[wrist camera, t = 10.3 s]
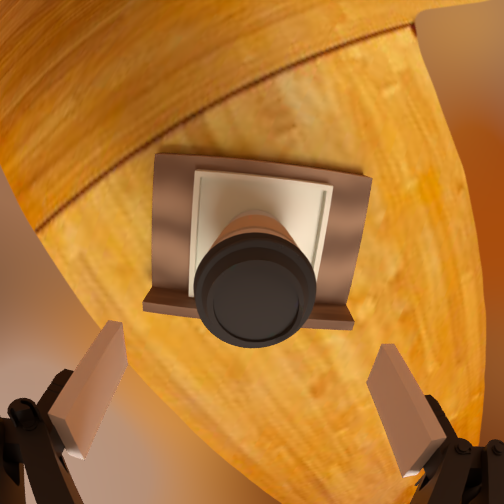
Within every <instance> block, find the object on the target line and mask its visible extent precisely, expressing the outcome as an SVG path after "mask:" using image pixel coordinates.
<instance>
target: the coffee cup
mask: <svg viewBox="0 0 504 504" xmlns="http://www.w3.org/2000/svg"><path fill="white" fill-rule="evenodd" d="M316 290H317V285H316V277H315V273H314V270H313V268H312V265H311V263H310V262H309V260H308V258H307V257H306V256H305V255H304V253H303V252H302V251H301V250H300V248H299V247H298V246H297V244H296V243H295V241H294V240H293V238H292V237H291V235H290V234H289V232H288V231H287V230H286V228H285V227H284V226H283V225H282V224H281V223H280V222H279V220H278V219H277V218H276V217H275V216H273V215H272V214H270V213H268V212H265V211H262V210H248V211H245V212H242V213H240V214H238V215H237V216H235V217H234V218H233V219H232V220H231V221H230V222H229V224H228V225H227V226H226V227H225V228H224V230H223V231H222V232H221V234H220V235H219V236H218V238H217V239H216V241H215V242H214V243H213V245H212V246H211V248H210V249H209V250H208V252H207V254H206V255H205V256H204V257H203V259H202V260H201V262H200V264H199V266H198V268H197V270H196V273H195V277H194V284H193V291H194V298H195V303H196V308H197V312H198V314H199V317H200V319H201V320H202V322H203V324H204V325H205V326H206V328H207V329H208V330H209V331H210V332H211V333H212V334H213V335H215V336H216V337H217V338H219V339H220V340H222V341H224V342H226V343H228V344H231V345H234V346H238V347H243V348H262V347H267V346H271V345H274V344H277V343H280V342H282V341H284V340H286V339H287V338H289V337H290V336H292V335H293V334H295V333H296V332H297V331H298V330H299V329H300V328H301V327H302V326H303V325H304V323H305V322H306V321H307V319H308V318H309V316H310V314H311V312H312V309H313V307H314V303H315V298H316Z"/></svg>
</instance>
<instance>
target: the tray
mask: <svg viewBox="0 0 504 504" xmlns="http://www.w3.org/2000/svg"><path fill="white" fill-rule="evenodd" d="M332 192H333V186H332V185H331V184H327V183H320V182H313V181H306V180H299V179H291V178H283V177H274V176H266V175H257V174H247V173H237V172H226V171H214V170H202V169H197V170H195V176H194V189H193V204H192V221H191V241H190V265H189V297H194V291H193V284H194V277H195V273H196V270H197V268H198V266H199V264H200V262H201V260H202V259H203V257H204V256H205V255H206V254H207V252H208V250H209V249H210V248H211V246H212V245H213V243H214V242H215V241H216V239H217V238H218V236H219V235H220V234H221V232H222V231H223V230H224V228H225V227H226V226H227V225H228V224H229V222H230V221H231V220H232V219H233V218H234V217H235V216H237V215H238V214H240V213H242V212H245V211H248V210H262V211H265V212H268V213H270V214H272V215H273V216H275V217H276V218H277V219H278V220H279V222H280V223H281V224H282V225H283V226H284V227H285V228H286V230H287V231H288V232H289V234H290V235H291V237H292V238H293V240H294V241H295V243H296V244H297V246H298V247H299V248H300V250H301V251H302V252H303V253H304V255H305V256H306V257H307V258H308V260H309V262H310V263H311V265H312V268H313V270H314V273H315V277H316V282H317V277H318V272H319V267H320V262H321V256H322V251H323V245H324V240H325V234H326V229H327V223H328V217H329V211H330V205H331V198H332Z"/></svg>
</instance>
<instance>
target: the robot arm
mask: <svg viewBox="0 0 504 504" xmlns="http://www.w3.org/2000/svg"><path fill="white" fill-rule="evenodd" d="M127 366H128V362H127V355H126V348H125V341H124V333H123V325H122V322H116V321H110V320H108V322H107V323H106V325H105V326H104V327H103V329H102V330H101V332H100V333H99V335H98V336H97V338H96V339H95V341H94V342H93V343H92V345H91V346H90V348H89V350H88V351H87V352H86V354H85V355H84V357H83V358H82V360H81V361H80V363H79V364H78V366H77V367H76V369H75V371H71V370H67V369H64V370H63V371H61V372H60V373H58V374H57V375H56V376H55V378H54V379H53V381H52V383H51V384H50V385H49V387H48V388H47V390H46V391H45V393H44V394H43V396H42V397H41V399H40V400H39V402H38V403H37V405H36V404H35V402H33V401H32V400H30V399H27V398H19V399H16V400H14V401H13V402H12V403H11V404H10V405H9V407H8V412H7V413H8V415H9V417H10V419H9V418H1V417H0V504H26V501H25V487H24V465H25V469H26V472H27V475H28V479H29V482H30V485H31V488H32V491H33V494H34V497H35V500H36V503H37V504H84V503H83V501H82V499H81V497H80V495H79V493H78V491H77V488H76V486H75V484H74V482H73V479H72V477H71V475H70V473H69V470H68V468H67V465H66V463H65V460H64V458H63V456H62V452H63V450H64V448H65V449H66V451H67V452H68V454H69V455H71V456H74V457H77V458H80V459H83V460H85V458H86V456H87V454H88V451H89V449H90V446H91V444H92V442H93V439H94V437H95V435H96V432H97V430H98V428H99V426H100V424H101V421H102V419H103V417H104V415H105V412H106V410H107V408H108V406H109V404H110V401H111V399H112V397H113V395H114V393H115V391H116V389H117V386H118V384H119V382H120V380H121V378H122V375H123V374H124V372H125V369H126V367H127ZM366 383H367V386H368V388H369V391H370V393H371V396H372V398H373V401H374V403H375V406H376V408H377V411H378V413H379V416H380V418H381V421H382V424H383V426H384V429H385V431H386V434H387V437H388V439H389V442H390V445H391V447H392V450H393V453H394V455H395V458H396V461H397V464H398V466H399V469H400V472H401V475H402V478H403V477H408V476H412V475H417V474H418V473H419V471H420V470H421V469H422V468H424V470H425V474H424V475H423V476H422V477H421V478H420V479H419V481H418V482H417V483H416V484H415V486H417V485H418V484H419V485H418V488H417V490H416V492H415V494H414V496H413V498H412V500H411V502H410V504H504V443H503V442H502V441H500V440H496V439H495V440H491V441H489V442H488V444H487V445H486V446H485V447H474V446H472V445H471V443H470V442H469V441H467V440H465V439H462V438H458V437H457V435H456V433H455V431H454V429H453V428H452V426H451V424H450V422H449V420H448V419H447V417H445V413H444V412H443V410H442V408H441V406H440V405H439V403H438V401H437V400H436V399H434V398H433V397H432V396H431V395H424V394H423V392H422V391H421V389H420V387H419V385H418V384H417V382H416V380H415V378H414V377H413V375H412V373H411V372H410V370H409V368H408V366H407V365H406V363H405V361H404V360H403V358H402V356H401V355H400V353H399V351H398V350H397V348H396V346H395V345H394V344H381V347H380V349H379V352H378V355H377V357H376V360H375V363H374V365H373V368H372V370H371V373H370V375H369V378H368V380H367V382H366Z"/></svg>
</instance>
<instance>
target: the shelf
mask: <svg viewBox="0 0 504 504" xmlns="http://www.w3.org/2000/svg"><path fill="white" fill-rule="evenodd" d="M197 169H202V170H214V171H226V172H237V173H247V174H257V175H266V176H274V177H283V178H291V179H299V180H306V181H313V182H320V183H327V184H331V185H332V186H333V192H332V198H331V205H330V211H329V217H328V223H327V229H326V234H325V240H324V245H323V251H322V256H321V262H320V267H319V272H318V277H317V282H316V285H317V290H316V298H315V303H314V307H313V309H312V312H311V314H310V316H309V318H308V319H307V321H306V322H305V323H304V325H303V326H302V327H301V328H313V329H332V330H352V329H353V325H354V322H355V321H354V319H353V318H352V316H351V314H350V312H349V310H348V308H347V306H346V303H347V299H348V295H349V291H350V287H351V283H352V279H353V274H354V270H355V266H356V261H357V257H358V252H359V248H360V243H361V238H362V233H363V228H364V223H365V218H366V213H367V207H368V201H369V196H370V190H371V184H372V178H370V177H367V176H364V175H359V174H354V173H348V172H342V171H336V170H330V169H323V168H316V167H310V166H302V165H295V164H287V163H279V162H271V161H262V160H253V159H243V158H233V157H221V156H208V155H194V154H177V153H158V154H155V162H154V180H153V204H152V288H151V289H150V291H149V292H148V294H147V296H146V297H145V299H144V300H143V311H146V312H153V313H160V314H167V315H175V316H182V317H190V318H199V319H200V317H199V314H198V312H197V308H196V303H195V298H194V297H189V265H190V241H191V221H192V204H193V189H194V176H195V170H197Z"/></svg>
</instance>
